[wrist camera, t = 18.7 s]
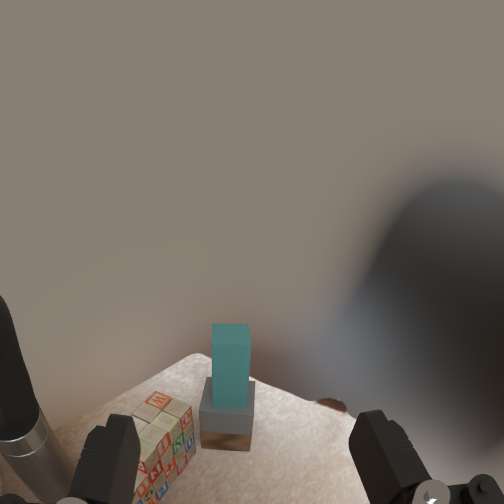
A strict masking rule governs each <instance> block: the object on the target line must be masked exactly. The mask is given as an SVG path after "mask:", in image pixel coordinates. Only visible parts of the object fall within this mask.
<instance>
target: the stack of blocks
mask: <svg viewBox="0 0 504 504" xmlns="http://www.w3.org/2000/svg"><path fill="white" fill-rule="evenodd" d="M131 416H132V417H133V420H134V423H135V427H136V430H137V433H138V436H139V440H140V445H141V454H140V460H139V465H138V471H137V477H136V482H135V488H134V494H133V500H132V504H158V502H159V500H160V499H161V498H162V496H163V495H164V494H165V493H166V491H167V490H168V488H169V487H170V486H171V484H172V483H173V482H174V480H175V479H176V478H177V476H178V475H179V474H180V473H181V472H182V470H183V469H184V467H185V466H186V465H187V463H188V462H189V461H190V459H191V458H192V457H193V455H194V454H195V452H196V448H195V442H194V426H193V418H192V410H191V405H189V404H186V403H184V402H181V401H179V400H177V399H174V398H173V399H172V398H171V397H169V396H167V395H164V394H162V393H159V392H157V391H155V392H154V393H153V394H152V395H151V396H150V397H149V398H148V399H147V400H146V401H145V402H143V403H142V404H141V405H140V406H139V407H138V408H137V409H136V410H135V411H134V412H133V413H132V415H131Z"/></svg>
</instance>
